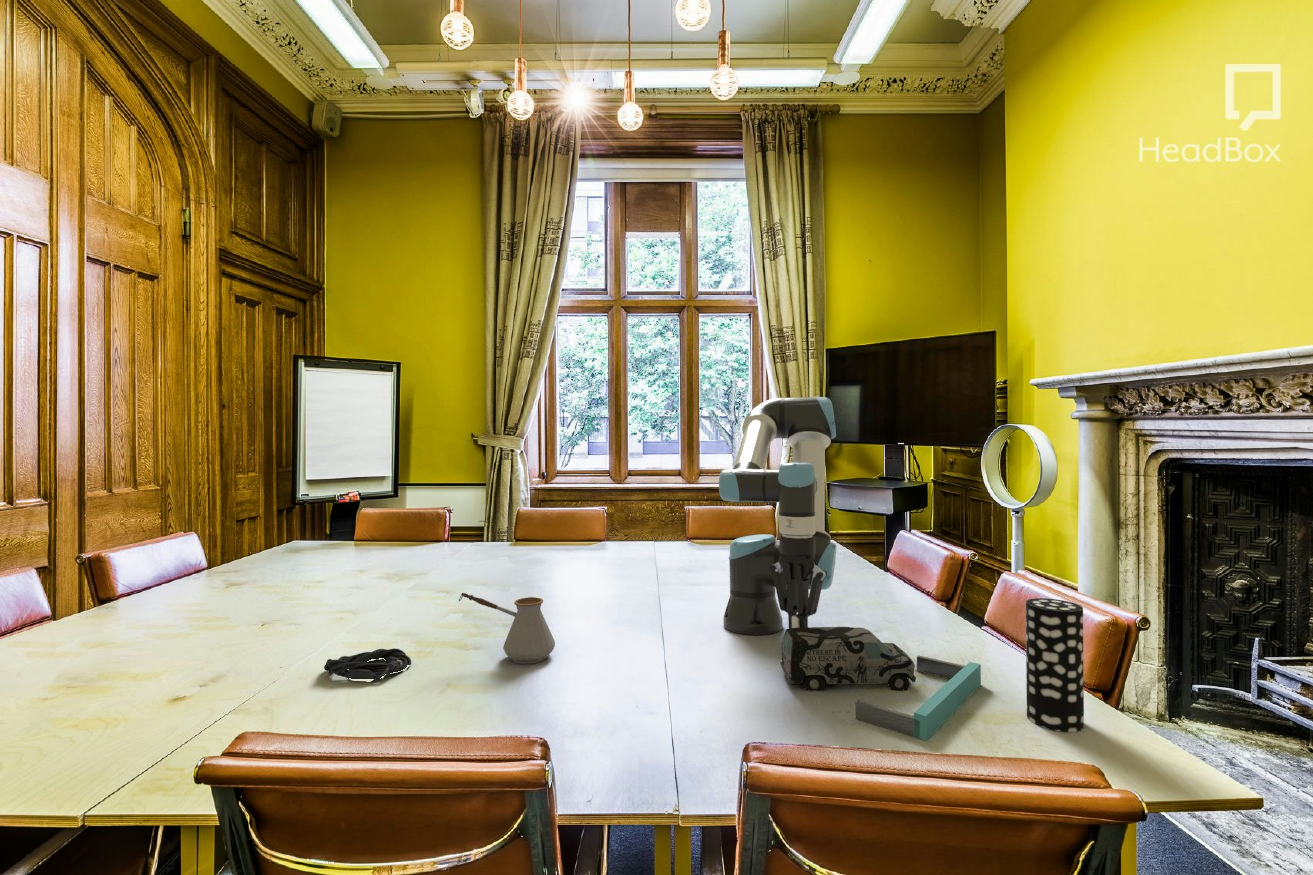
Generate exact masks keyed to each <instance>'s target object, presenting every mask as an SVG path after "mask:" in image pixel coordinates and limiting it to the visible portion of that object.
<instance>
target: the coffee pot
mask: <svg viewBox="0 0 1313 875" xmlns="http://www.w3.org/2000/svg"><path fill="white" fill-rule="evenodd" d="M460 594H461V595H460V597H459V598H458V602H461V601H462V599H463V598H467V599H468V600H469V601H474V602H475V603H477V604H479V605H482V606H484V607H488V608H491V609H494V610H498V611H500V612H502V613H505V614H507V615H509V616H512V617H514V618H513V621H512V624H511V627H510V628H509V631H508V634H507V636H506V639H505V641H504V644H503V648H502V650H503V651H504V653H505V654H506V656H507V657H508V658H509V659H510V660H512V661H513V662H514V663H517V664H522V665H527V664H536V663H540V662H543V661H544V660H546V659H547V657H548V656H549V655H550V654H551V653H552V652H553V651H554V649H555V646H556V642H555V641H556V640H555V639H554V636H553V635H552V632H551V630H550V627H549V625H548V623H547V621H546V618H545V617H544V614H543V612H542V609H541V607H542V604H543V603H544V600H543V598H541V597H534V596H529V597H524V598H519V599H516V600H514V605H515V606H516V610H517V611H513V610H510V609H507V608H504V607H502V606H499V605H497V604H495V603H493V602H491V601H488V600H486V599H484V598H481V597H477V596H474V595H473V594H471V595H470V594H468V593H466V592H461V593H460Z"/></svg>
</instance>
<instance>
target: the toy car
mask: <svg viewBox="0 0 1313 875" xmlns="http://www.w3.org/2000/svg"><path fill="white" fill-rule="evenodd" d="M779 664H780V666H781V669H782V671H783V673H784V675H785V677H786V679H787V681H788V683H789V685H794V684H798V685H799V684H800V685H801V684H802V683H803V688H804V689H805V691H808V692H813V691H814V692H823V691H825V690H826V689H825V688H826V685H856V684H857V685H860V684H863V685H864V684H887V685H888V688H889V689H890V690H891V691H894V692H895V691H896V692H897V691H898V692H904V691H907V690H908V689H909V688H910V681H911V682H912V683H916V680H917V677H916V676H915V675H914V674H915V662H914V660H913V659H912V658H911V657H910V656H909V655H908V654H907V653H906V652H905V651H904V650H903V649H902V648H900V646H898V645H897V644H895V643H894V642H883V641H882V640H880V639H879V637H877V636H876V635H875V634H874V633H873V632H872V631H870V630H869V629H867V628H864V627H851V626H811V627H809V626H808V627H806V628H789V627H788V628H786V629H785V632H784V635H783V639H782V643H781V661H780V663H779Z"/></svg>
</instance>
